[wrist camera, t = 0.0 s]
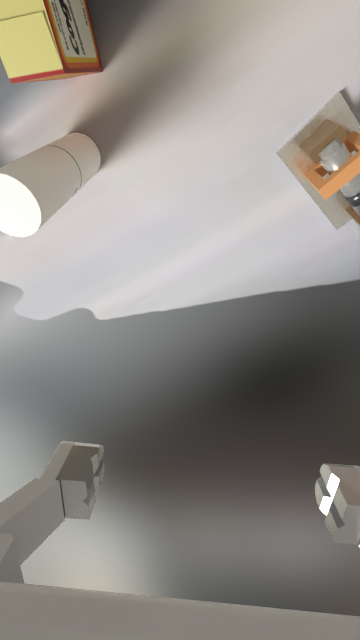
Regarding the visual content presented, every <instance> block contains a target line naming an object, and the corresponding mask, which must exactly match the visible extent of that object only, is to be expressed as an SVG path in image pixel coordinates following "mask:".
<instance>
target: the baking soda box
mask: <svg viewBox="0 0 360 640" xmlns="http://www.w3.org/2000/svg"><path fill="white" fill-rule="evenodd" d="M0 57H1V59H2V62H3V64H4V67H5V69H6V72H7V74H8V77H9V79H10V82H11V83H21V82H33V81H45V80H57V79H65V78H71V77H76V76H82V75H87V74H92V73H98V72H103V71H102V66H101V62H100V58H99V53H98V49H97V45H96V41H95V36H94V32H93V28H92V24H91V19H90V15H89V11H88V6H87V2H86V0H0Z"/></svg>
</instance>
